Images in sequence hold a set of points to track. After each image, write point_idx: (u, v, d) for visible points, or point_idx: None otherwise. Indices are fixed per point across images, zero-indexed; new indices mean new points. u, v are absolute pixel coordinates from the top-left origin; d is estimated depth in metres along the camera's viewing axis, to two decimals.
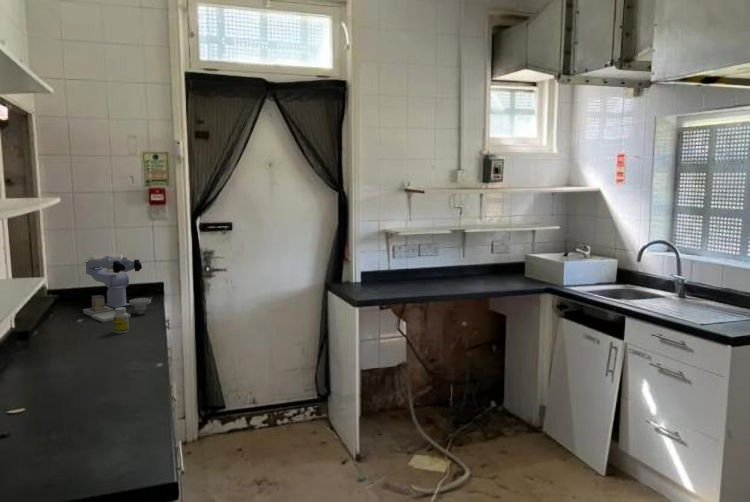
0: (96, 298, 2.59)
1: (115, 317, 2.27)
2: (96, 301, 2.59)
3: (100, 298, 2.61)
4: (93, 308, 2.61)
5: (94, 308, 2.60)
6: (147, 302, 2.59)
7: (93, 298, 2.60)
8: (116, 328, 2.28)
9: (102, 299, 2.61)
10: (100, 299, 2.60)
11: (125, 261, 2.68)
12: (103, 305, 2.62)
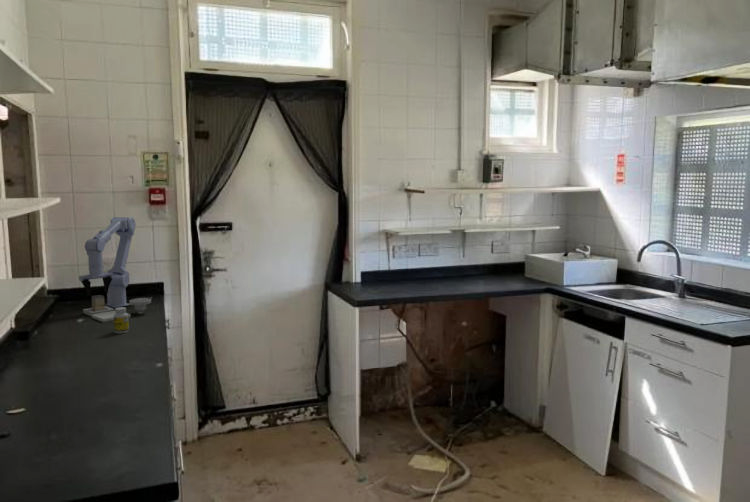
0: (96, 298, 2.59)
1: (115, 317, 2.27)
2: (96, 301, 2.59)
3: (100, 298, 2.61)
4: (93, 308, 2.61)
5: (94, 308, 2.60)
6: (147, 302, 2.59)
7: (93, 298, 2.60)
8: (116, 328, 2.28)
9: (102, 299, 2.61)
10: (100, 299, 2.60)
11: None
12: (103, 305, 2.62)
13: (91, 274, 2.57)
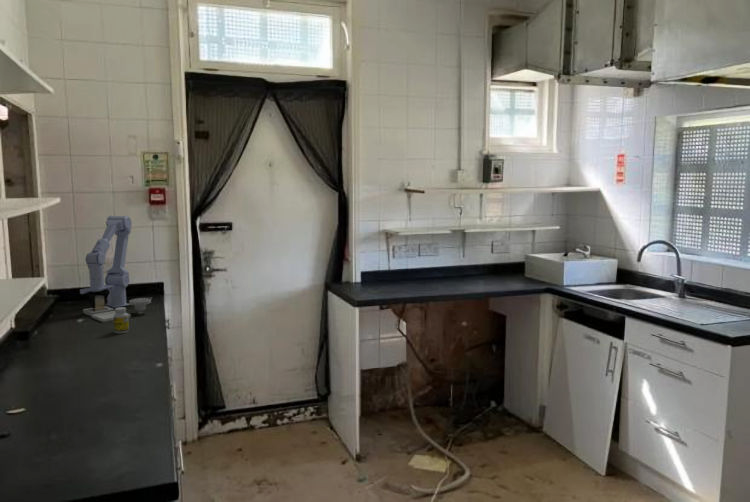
0: (96, 298, 2.59)
1: (115, 317, 2.27)
2: (96, 301, 2.59)
3: (100, 298, 2.61)
4: (93, 308, 2.61)
5: (94, 308, 2.60)
6: (147, 302, 2.59)
7: None
8: (116, 328, 2.28)
9: (102, 299, 2.61)
10: (100, 299, 2.60)
11: None
12: (103, 305, 2.62)
13: (92, 287, 2.58)
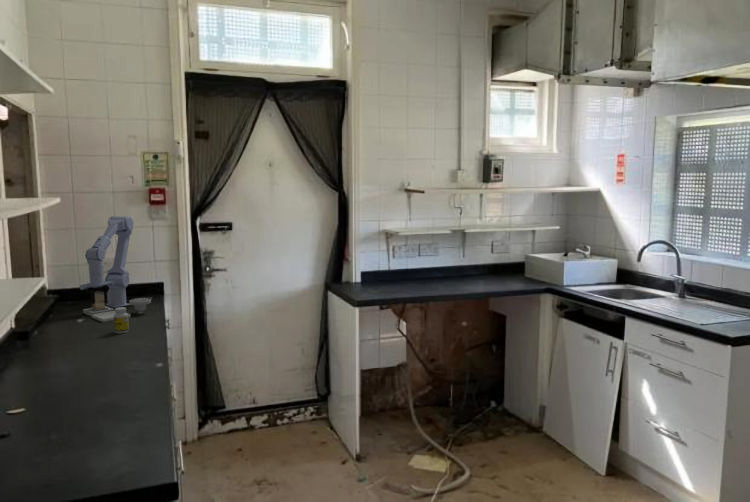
0: (96, 294, 2.59)
1: (115, 317, 2.27)
2: (95, 297, 2.59)
3: (100, 294, 2.60)
4: (93, 304, 2.61)
5: (94, 304, 2.60)
6: (147, 302, 2.59)
7: None
8: (116, 328, 2.28)
9: (102, 295, 2.61)
10: (100, 295, 2.60)
11: None
12: (103, 301, 2.61)
13: (92, 283, 2.58)
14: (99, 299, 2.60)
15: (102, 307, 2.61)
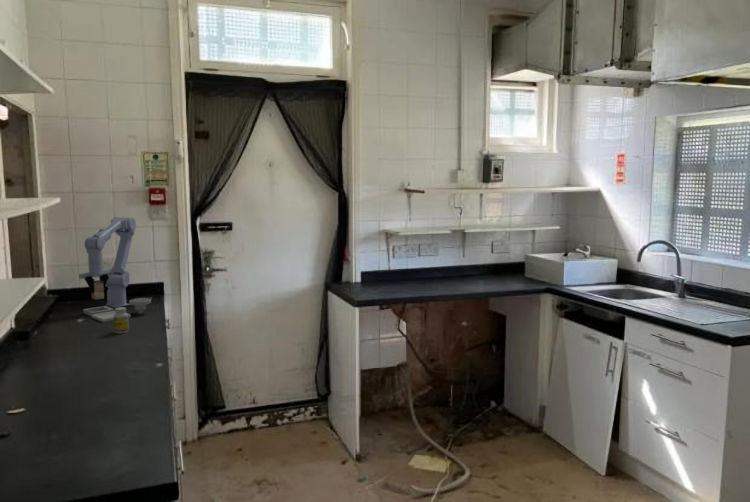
0: (95, 283, 2.58)
1: (115, 317, 2.27)
2: (95, 286, 2.58)
3: (100, 283, 2.60)
4: (92, 293, 2.60)
5: (93, 293, 2.59)
6: (147, 302, 2.59)
7: None
8: (116, 328, 2.28)
9: (101, 284, 2.60)
10: (99, 284, 2.60)
11: None
12: (102, 290, 2.61)
13: (91, 272, 2.57)
14: (98, 288, 2.59)
15: (101, 296, 2.61)
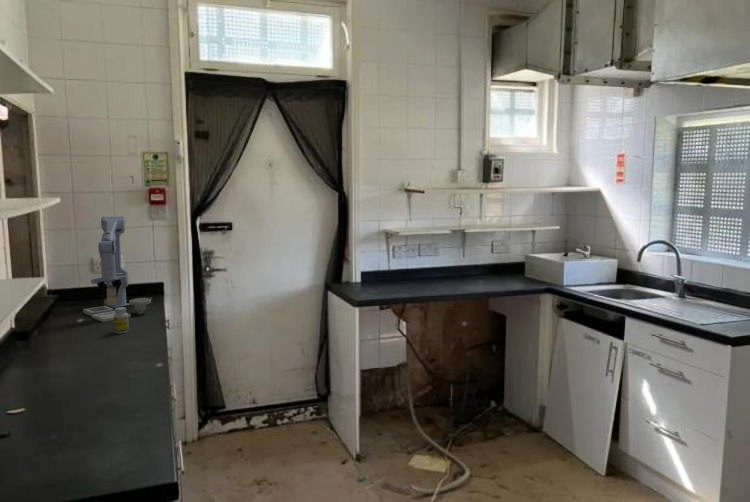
0: (108, 288, 2.49)
1: (115, 317, 2.27)
2: (107, 292, 2.49)
3: (112, 289, 2.51)
4: (105, 299, 2.51)
5: (106, 299, 2.50)
6: (147, 302, 2.59)
7: None
8: (116, 328, 2.28)
9: (114, 290, 2.51)
10: (112, 290, 2.51)
11: None
12: (115, 296, 2.52)
13: (103, 277, 2.48)
14: (111, 294, 2.51)
15: (114, 302, 2.52)
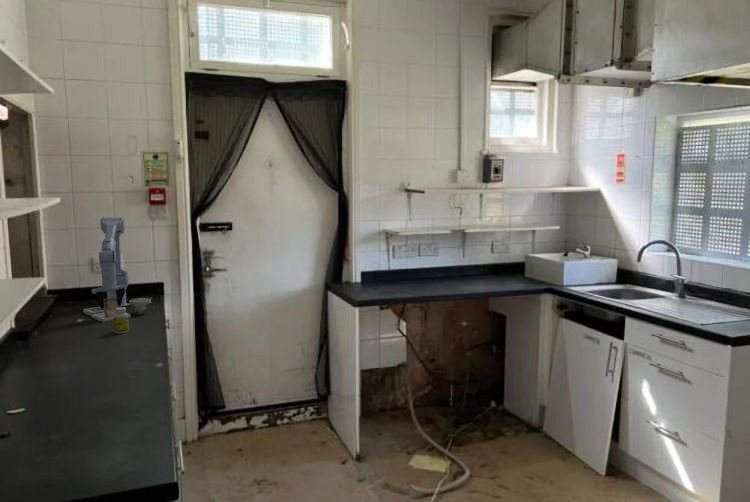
0: (108, 301, 2.50)
1: (115, 317, 2.27)
2: (108, 304, 2.50)
3: (113, 301, 2.51)
4: (105, 311, 2.52)
5: (106, 311, 2.51)
6: (147, 302, 2.59)
7: (106, 301, 2.51)
8: (116, 328, 2.28)
9: (115, 302, 2.52)
10: (112, 302, 2.51)
11: None
12: None
13: (104, 286, 2.49)
14: (112, 306, 2.51)
15: None
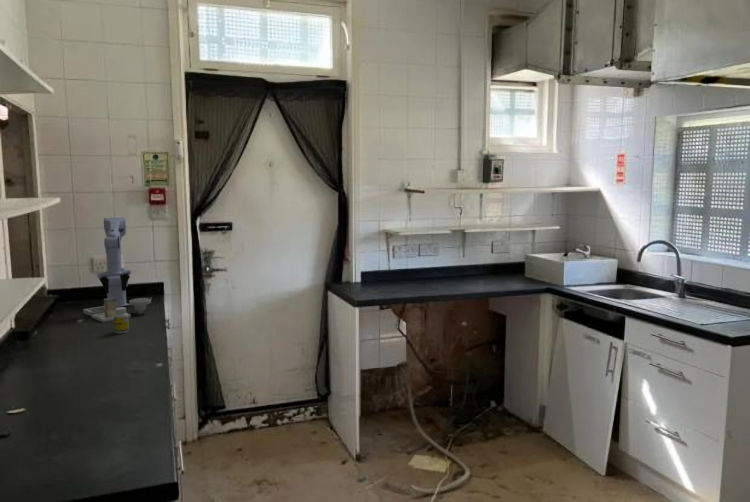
0: (108, 301, 2.50)
1: (115, 317, 2.27)
2: (108, 304, 2.50)
3: (113, 301, 2.51)
4: (105, 311, 2.52)
5: (106, 311, 2.51)
6: (147, 302, 2.59)
7: (106, 301, 2.51)
8: (116, 328, 2.28)
9: (115, 302, 2.52)
10: (112, 302, 2.51)
11: None
12: None
13: (109, 272, 2.58)
14: (112, 306, 2.51)
15: None
